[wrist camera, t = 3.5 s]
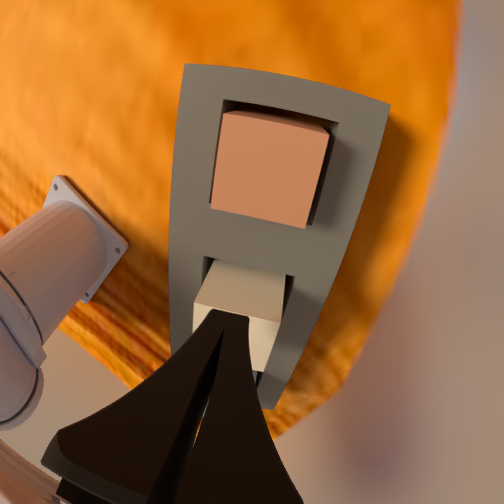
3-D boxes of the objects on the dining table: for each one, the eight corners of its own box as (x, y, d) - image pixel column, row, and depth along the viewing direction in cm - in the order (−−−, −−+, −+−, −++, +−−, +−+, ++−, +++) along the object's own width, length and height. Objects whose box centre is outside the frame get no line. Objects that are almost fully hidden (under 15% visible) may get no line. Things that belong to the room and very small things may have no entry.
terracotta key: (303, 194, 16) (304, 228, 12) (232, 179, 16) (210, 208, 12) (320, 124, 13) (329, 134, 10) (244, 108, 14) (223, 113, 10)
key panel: (276, 383, 25) (273, 410, 22) (183, 361, 25) (173, 386, 23) (373, 102, 12) (390, 104, 10) (205, 68, 13) (184, 63, 10)
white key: (271, 318, 18) (263, 371, 15) (211, 304, 19) (191, 354, 15) (286, 268, 16) (280, 322, 13) (217, 253, 17) (193, 302, 13)
